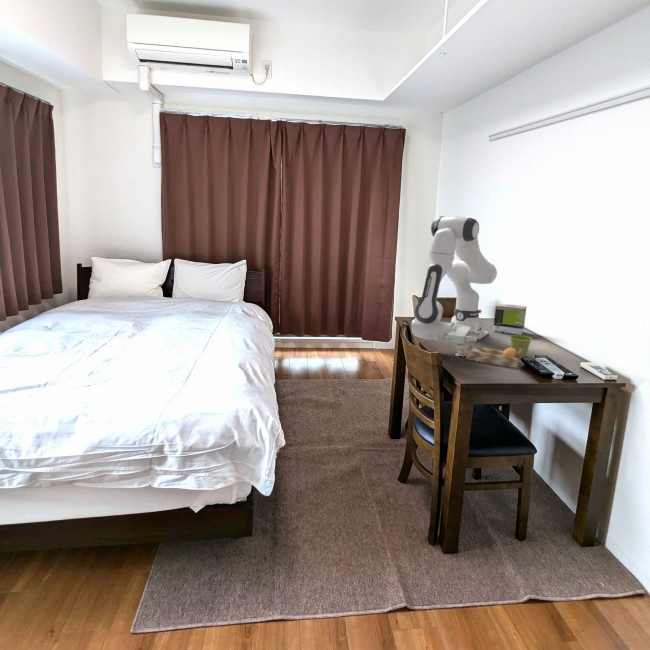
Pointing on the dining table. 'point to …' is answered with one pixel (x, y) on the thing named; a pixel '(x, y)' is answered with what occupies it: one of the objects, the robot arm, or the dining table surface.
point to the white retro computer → (509, 318)
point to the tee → (460, 349)
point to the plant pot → (520, 343)
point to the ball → (510, 353)
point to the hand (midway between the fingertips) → (478, 336)
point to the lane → (492, 356)
